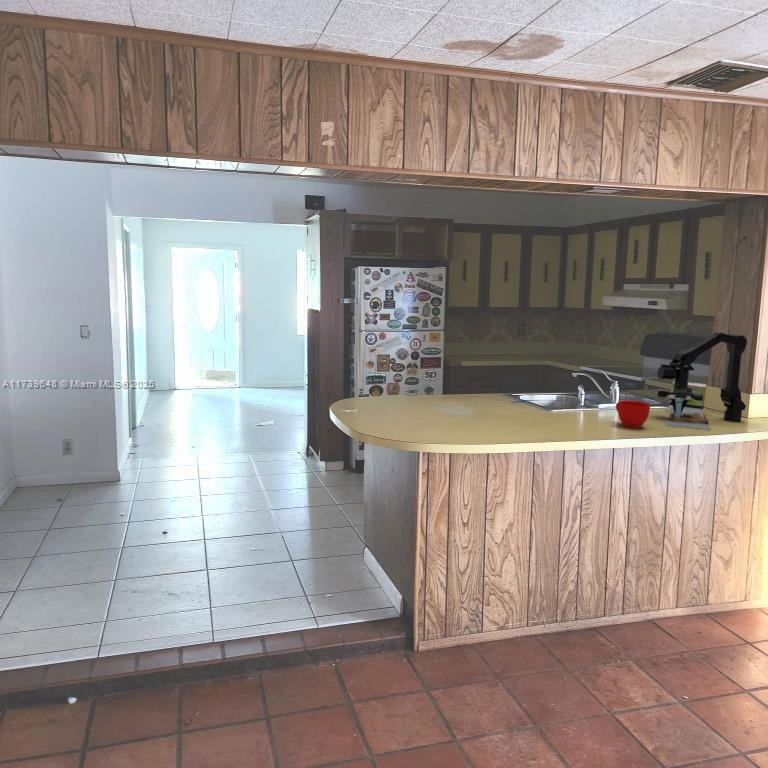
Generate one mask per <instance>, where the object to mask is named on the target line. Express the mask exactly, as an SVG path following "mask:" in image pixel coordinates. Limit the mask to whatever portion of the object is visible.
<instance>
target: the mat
mask: <svg viewBox="0 0 768 768" xmlns="http://www.w3.org/2000/svg"><path fill="white" fill-rule="evenodd" d="M663 422H664V426H667V428H670V427H674V428H677V429H680V428H686V430H689V429H695V430H696V431H699V430H705V431H704V432H706V431H707V432H708V431H711V430H712V428H711V427H710V425H709V424H698V423H689V422H679V421H671V420H663Z"/></svg>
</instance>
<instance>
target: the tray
mask: <svg viewBox="0 0 768 768" xmlns="http://www.w3.org/2000/svg"><path fill="white" fill-rule="evenodd" d="M674 414H675V413H674V412H669V418H670V421H676V422H686V423H696V424H705V425H709V420H708V418H707V417H706V416H705V415H703V416H704V417H703V419H704V420H695V419H692V418H693V416H694V415H693V414H685V413H681V415H680V418H675V417H674Z"/></svg>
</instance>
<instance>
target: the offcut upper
mask: <svg viewBox="0 0 768 768" xmlns="http://www.w3.org/2000/svg"><path fill="white" fill-rule="evenodd" d="M704 416H705V415H704V414H703V413H702V414H701V413H694V418H695V419H703V417H704Z"/></svg>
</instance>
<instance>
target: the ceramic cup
mask: <svg viewBox="0 0 768 768" xmlns="http://www.w3.org/2000/svg"><path fill="white" fill-rule="evenodd" d="M615 409H616V411H617V415H618V419H619V420H620V422H621V424H622V425H623V427H626V428H631V429H640V428H641V427H642V426H643V425H644V424H645V423H646V422H647V419H648V418H649V414H650V410H651V405H650V404H649V403H646V402H643V401H639V400H638V401H635V400H619V401H618V402H617V403H616V405H615ZM639 427H640V428H639Z"/></svg>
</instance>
